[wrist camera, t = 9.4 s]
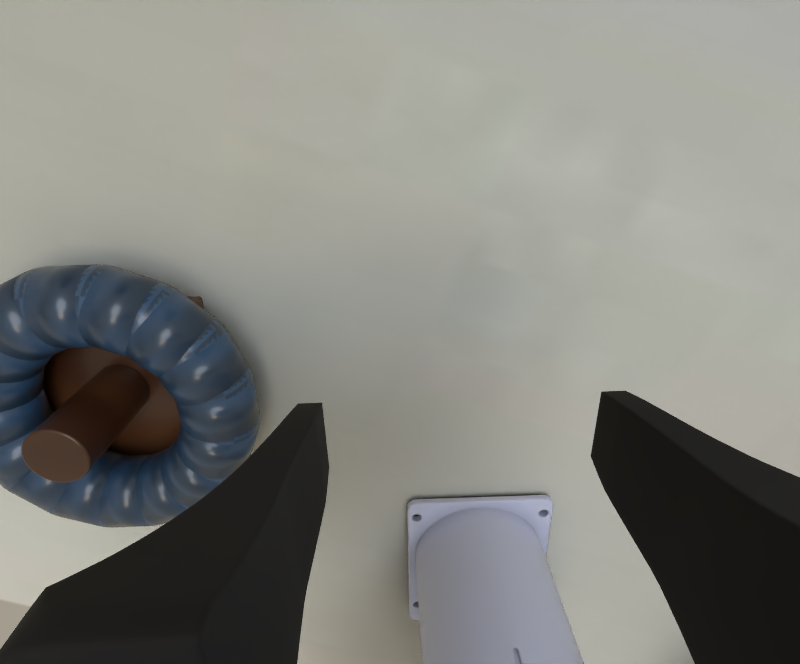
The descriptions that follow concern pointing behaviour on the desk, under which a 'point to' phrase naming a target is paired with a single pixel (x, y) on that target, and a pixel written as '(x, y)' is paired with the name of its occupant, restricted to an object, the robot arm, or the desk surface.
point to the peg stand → (99, 413)
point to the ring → (151, 349)
